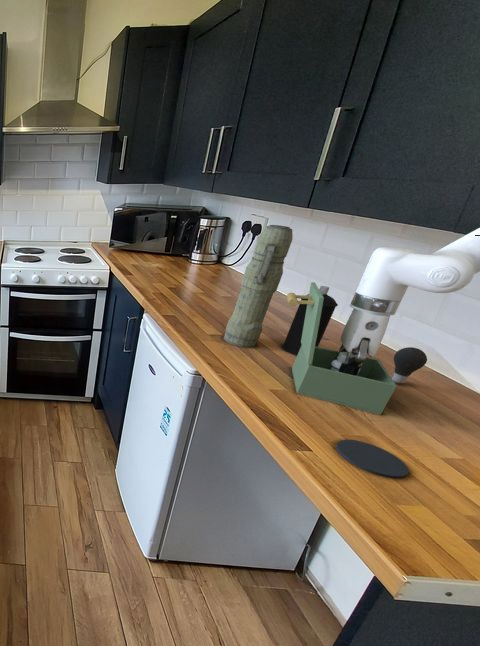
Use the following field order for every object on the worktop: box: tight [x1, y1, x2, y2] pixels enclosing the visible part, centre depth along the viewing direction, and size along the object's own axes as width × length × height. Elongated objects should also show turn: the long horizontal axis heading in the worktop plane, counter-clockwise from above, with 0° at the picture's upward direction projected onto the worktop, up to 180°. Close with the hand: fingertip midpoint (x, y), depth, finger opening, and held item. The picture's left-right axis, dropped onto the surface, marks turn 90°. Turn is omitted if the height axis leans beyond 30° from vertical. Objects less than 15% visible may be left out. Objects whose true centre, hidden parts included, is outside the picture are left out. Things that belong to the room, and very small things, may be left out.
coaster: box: [335, 439, 409, 479], centre depth 75 cm, size 10×10×1 cm
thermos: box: [223, 224, 294, 349], centre depth 117 cm, size 9×12×35 cm
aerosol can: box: [281, 285, 339, 356], centre depth 115 cm, size 8×8×20 cm
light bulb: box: [391, 346, 428, 385], centre depth 101 cm, size 6×6×10 cm
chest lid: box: [286, 282, 324, 364], centre depth 98 cm, size 16×15×6 cm
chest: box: [291, 345, 397, 416], centre depth 97 cm, size 15×15×8 cm
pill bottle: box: [329, 352, 360, 376], centre depth 96 cm, size 5×5×9 cm
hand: (342, 373), depth 97 cm, fingers closed on pill bottle, 5 cm apart
